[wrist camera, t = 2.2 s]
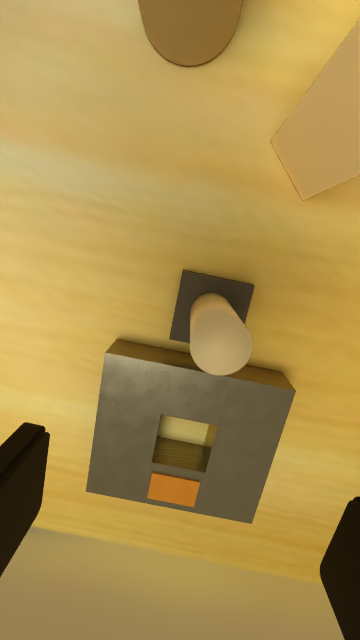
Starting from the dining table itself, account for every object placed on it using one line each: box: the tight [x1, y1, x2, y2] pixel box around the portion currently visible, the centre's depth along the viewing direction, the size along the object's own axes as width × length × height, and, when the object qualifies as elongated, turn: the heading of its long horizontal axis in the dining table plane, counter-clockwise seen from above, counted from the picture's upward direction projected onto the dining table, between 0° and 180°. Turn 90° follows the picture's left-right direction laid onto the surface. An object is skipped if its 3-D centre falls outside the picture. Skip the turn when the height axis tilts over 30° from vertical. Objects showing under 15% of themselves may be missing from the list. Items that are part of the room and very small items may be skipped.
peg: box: [190, 293, 253, 375], centre depth 23 cm, size 4×4×10 cm
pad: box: [169, 270, 254, 343], centre depth 28 cm, size 7×7×1 cm
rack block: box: [86, 339, 296, 524], centre depth 30 cm, size 16×18×4 cm
